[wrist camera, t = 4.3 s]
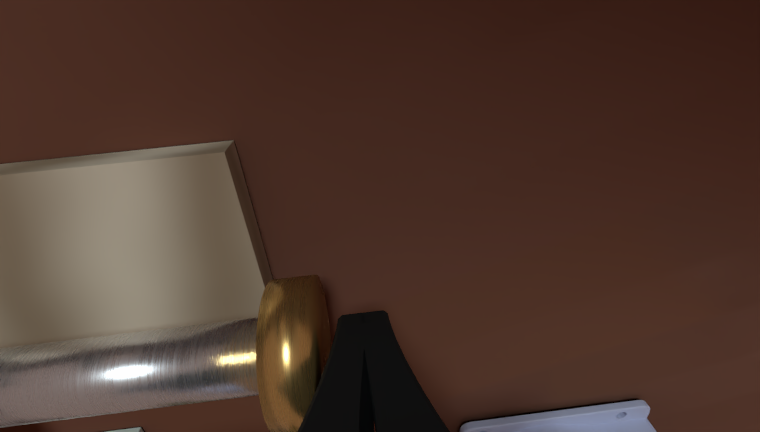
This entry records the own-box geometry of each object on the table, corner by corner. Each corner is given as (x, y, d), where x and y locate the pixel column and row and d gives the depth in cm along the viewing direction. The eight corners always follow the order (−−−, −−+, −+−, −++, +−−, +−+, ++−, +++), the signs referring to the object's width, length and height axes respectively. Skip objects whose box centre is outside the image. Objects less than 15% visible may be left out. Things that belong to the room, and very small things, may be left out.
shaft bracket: (233, 140, 11) (148, 246, 6) (298, 369, 16) (278, 526, 11) (-276, 192, 10) (-805, 352, 6) (-45, 411, 15) (-221, 596, 11)
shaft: (315, 247, 11) (302, 357, 8) (333, 341, 13) (330, 463, 10) (-77, 291, 11) (-278, 428, 7) (3, 381, 13) (-124, 523, 9)
